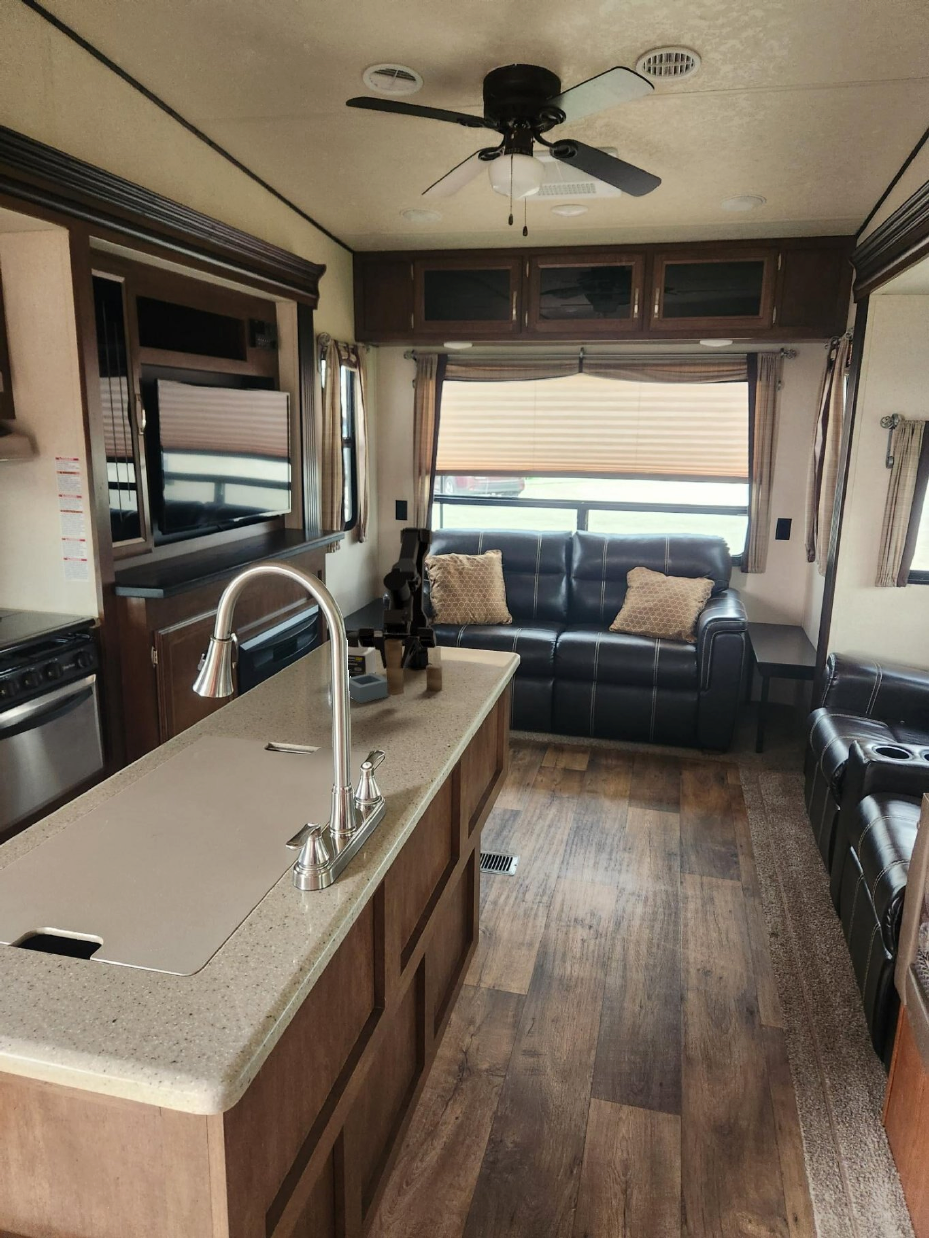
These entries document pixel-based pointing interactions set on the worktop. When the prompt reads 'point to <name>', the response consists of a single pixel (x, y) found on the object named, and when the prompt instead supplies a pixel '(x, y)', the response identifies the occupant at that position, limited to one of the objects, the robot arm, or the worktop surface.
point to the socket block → (367, 687)
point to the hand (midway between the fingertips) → (393, 668)
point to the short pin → (434, 677)
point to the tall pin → (394, 666)
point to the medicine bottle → (359, 657)
